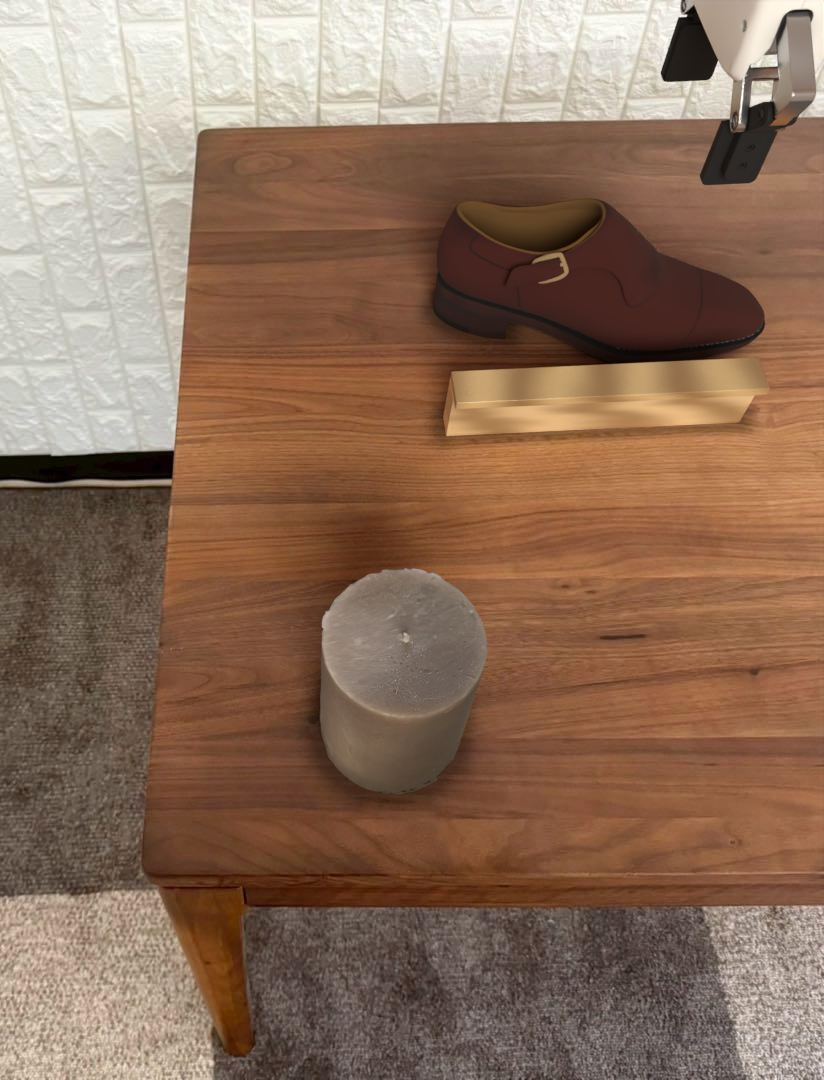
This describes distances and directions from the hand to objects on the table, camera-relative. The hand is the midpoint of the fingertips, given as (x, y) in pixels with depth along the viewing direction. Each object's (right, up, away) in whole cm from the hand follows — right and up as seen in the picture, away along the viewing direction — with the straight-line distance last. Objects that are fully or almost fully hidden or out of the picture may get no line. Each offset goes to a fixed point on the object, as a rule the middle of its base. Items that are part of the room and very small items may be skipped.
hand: (704, 127), depth 62 cm
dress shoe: (+1, -6, +27) cm, 28 cm away
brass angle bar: (-1, -15, +21) cm, 26 cm away
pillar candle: (-19, -38, +8) cm, 43 cm away
